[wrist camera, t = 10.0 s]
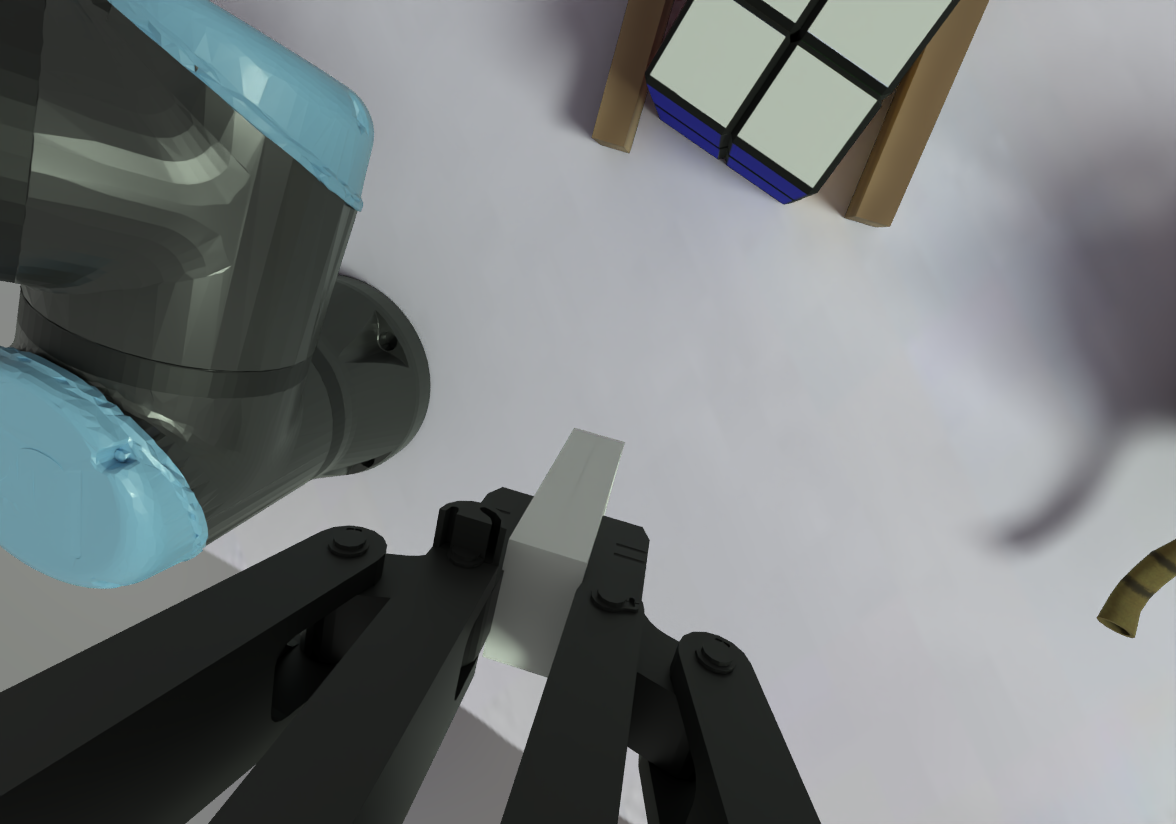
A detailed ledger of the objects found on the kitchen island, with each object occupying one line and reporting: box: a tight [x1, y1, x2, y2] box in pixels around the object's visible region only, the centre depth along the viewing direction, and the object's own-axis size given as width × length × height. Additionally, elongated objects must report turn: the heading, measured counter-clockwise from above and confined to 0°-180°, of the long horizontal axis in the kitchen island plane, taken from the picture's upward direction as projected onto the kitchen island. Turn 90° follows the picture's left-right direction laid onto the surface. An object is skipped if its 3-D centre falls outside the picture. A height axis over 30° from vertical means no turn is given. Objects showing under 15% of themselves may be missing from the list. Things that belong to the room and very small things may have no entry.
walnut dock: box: [592, 0, 989, 227], centre depth 34 cm, size 18×14×3 cm
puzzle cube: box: [645, 0, 960, 204], centre depth 31 cm, size 10×10×10 cm
